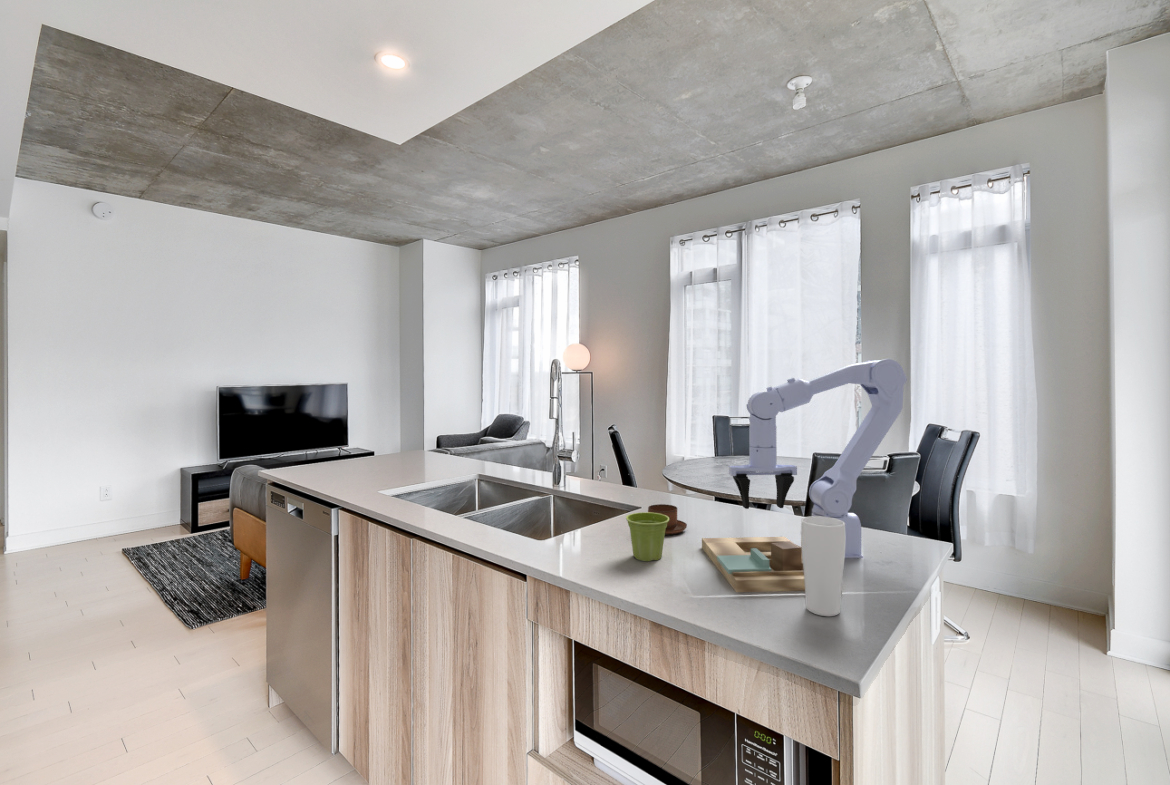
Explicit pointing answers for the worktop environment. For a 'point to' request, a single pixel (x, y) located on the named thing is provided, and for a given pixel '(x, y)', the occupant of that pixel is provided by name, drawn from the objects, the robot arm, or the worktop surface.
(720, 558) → the lid
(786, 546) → the block
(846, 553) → the robot arm
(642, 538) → the plant pot
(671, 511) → the cup and saucer
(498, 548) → the worktop surface
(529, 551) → the worktop surface
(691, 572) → the worktop surface
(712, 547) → the board
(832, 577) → the drinking glass
